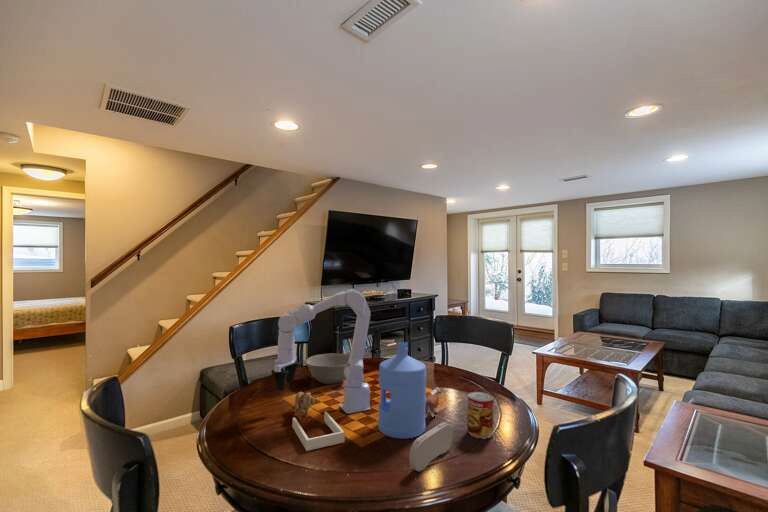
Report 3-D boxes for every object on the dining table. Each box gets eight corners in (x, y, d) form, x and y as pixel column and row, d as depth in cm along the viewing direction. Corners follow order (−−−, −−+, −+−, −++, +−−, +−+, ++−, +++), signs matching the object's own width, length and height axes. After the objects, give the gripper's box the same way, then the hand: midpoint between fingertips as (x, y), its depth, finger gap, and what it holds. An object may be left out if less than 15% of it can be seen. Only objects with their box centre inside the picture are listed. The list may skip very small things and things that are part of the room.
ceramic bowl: (294, 382, 162) (295, 360, 162) (330, 370, 180) (330, 350, 181) (331, 393, 149) (331, 369, 149) (365, 379, 168) (365, 358, 168)
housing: (326, 420, 124) (326, 411, 124) (344, 442, 109) (344, 432, 109) (292, 427, 118) (292, 417, 118) (306, 451, 103) (306, 440, 103)
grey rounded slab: (446, 445, 108) (446, 417, 108) (453, 448, 106) (453, 419, 107) (407, 474, 93) (408, 441, 93) (415, 477, 92) (415, 444, 92)
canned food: (462, 430, 118) (463, 393, 118) (482, 426, 121) (482, 390, 121) (477, 441, 111) (477, 402, 111) (498, 437, 114) (498, 398, 114)
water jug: (427, 421, 124) (429, 339, 125) (422, 443, 109) (423, 350, 110) (383, 416, 128) (385, 337, 128) (372, 436, 112) (374, 346, 113)
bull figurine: (443, 408, 135) (443, 386, 136) (433, 422, 123) (433, 398, 123) (432, 406, 137) (432, 385, 137) (420, 420, 125) (421, 396, 125)
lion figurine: (316, 419, 124) (317, 393, 124) (301, 423, 121) (302, 396, 121) (301, 405, 136) (301, 381, 137) (287, 408, 133) (287, 383, 134)
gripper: (284, 343, 136) (283, 379, 136) (266, 352, 122) (265, 392, 122) (302, 344, 135) (301, 380, 135) (285, 353, 121) (284, 394, 121)
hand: (285, 386), depth 128 cm, fingers open, 7 cm apart
